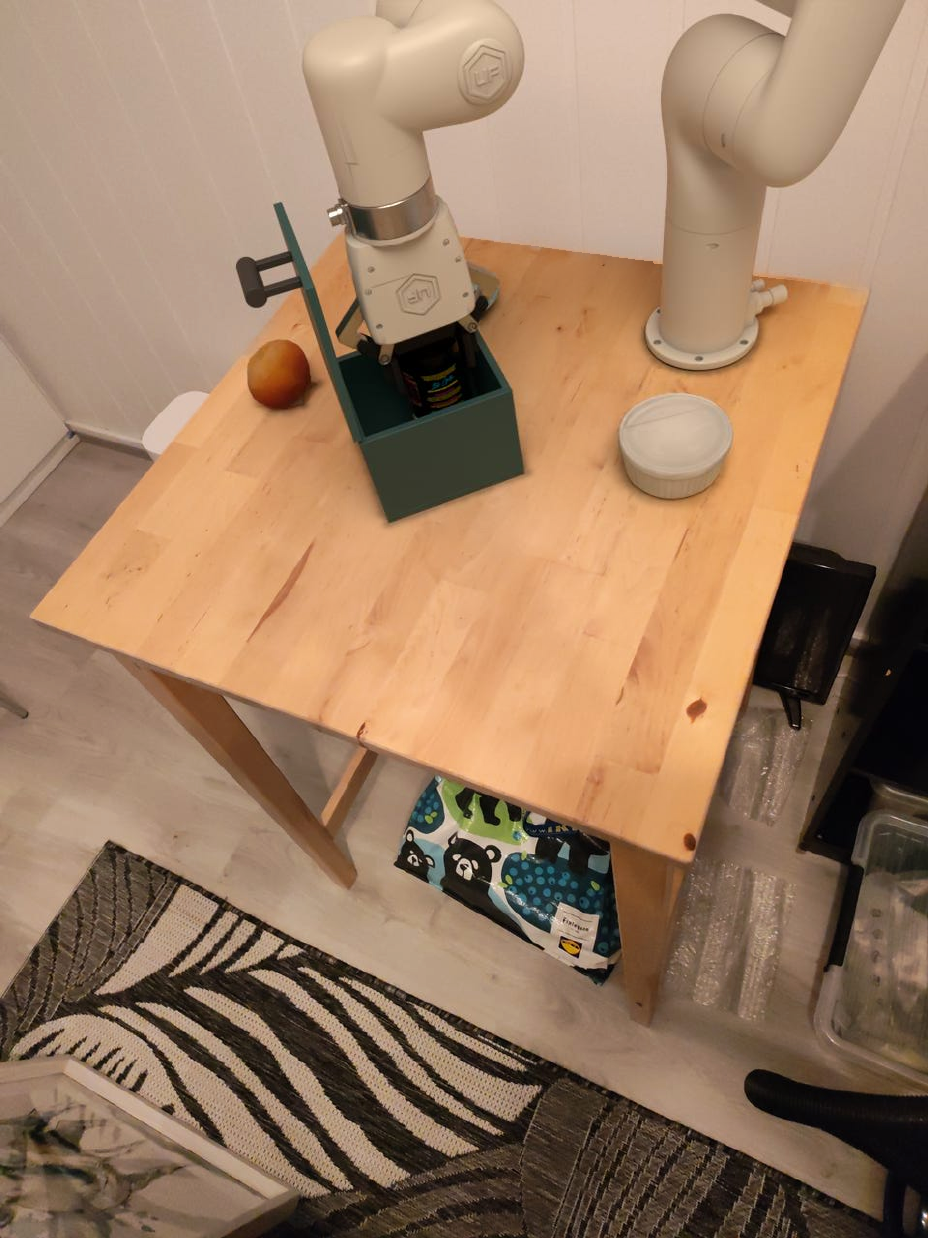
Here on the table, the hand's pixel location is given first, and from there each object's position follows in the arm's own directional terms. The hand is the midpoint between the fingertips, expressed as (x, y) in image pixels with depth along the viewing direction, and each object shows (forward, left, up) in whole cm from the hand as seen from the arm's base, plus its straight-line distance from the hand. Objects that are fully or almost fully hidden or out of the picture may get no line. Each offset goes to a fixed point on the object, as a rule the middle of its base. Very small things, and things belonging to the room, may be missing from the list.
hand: (433, 371), depth 80 cm
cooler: (+2, 0, -11) cm, 12 cm away
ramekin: (-20, +13, -12) cm, 27 cm away
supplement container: (0, 0, -6) cm, 6 cm away
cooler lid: (+9, 0, +9) cm, 13 cm away
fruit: (+16, -19, -12) cm, 27 cm away
